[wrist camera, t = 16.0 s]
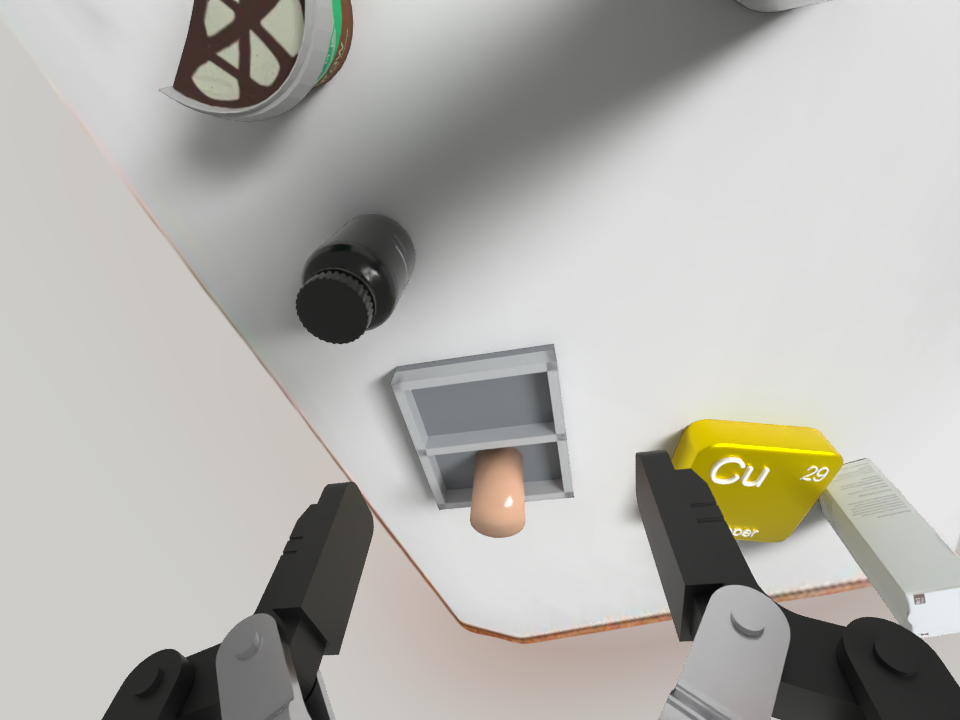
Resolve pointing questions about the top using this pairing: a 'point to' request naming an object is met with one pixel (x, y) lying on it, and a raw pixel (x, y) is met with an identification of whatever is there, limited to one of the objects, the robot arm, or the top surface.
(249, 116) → the food container
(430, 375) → the rack
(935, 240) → the top surface
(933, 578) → the skincare box
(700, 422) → the element tile
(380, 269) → the supplement bottle
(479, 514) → the peach rounded capsule
